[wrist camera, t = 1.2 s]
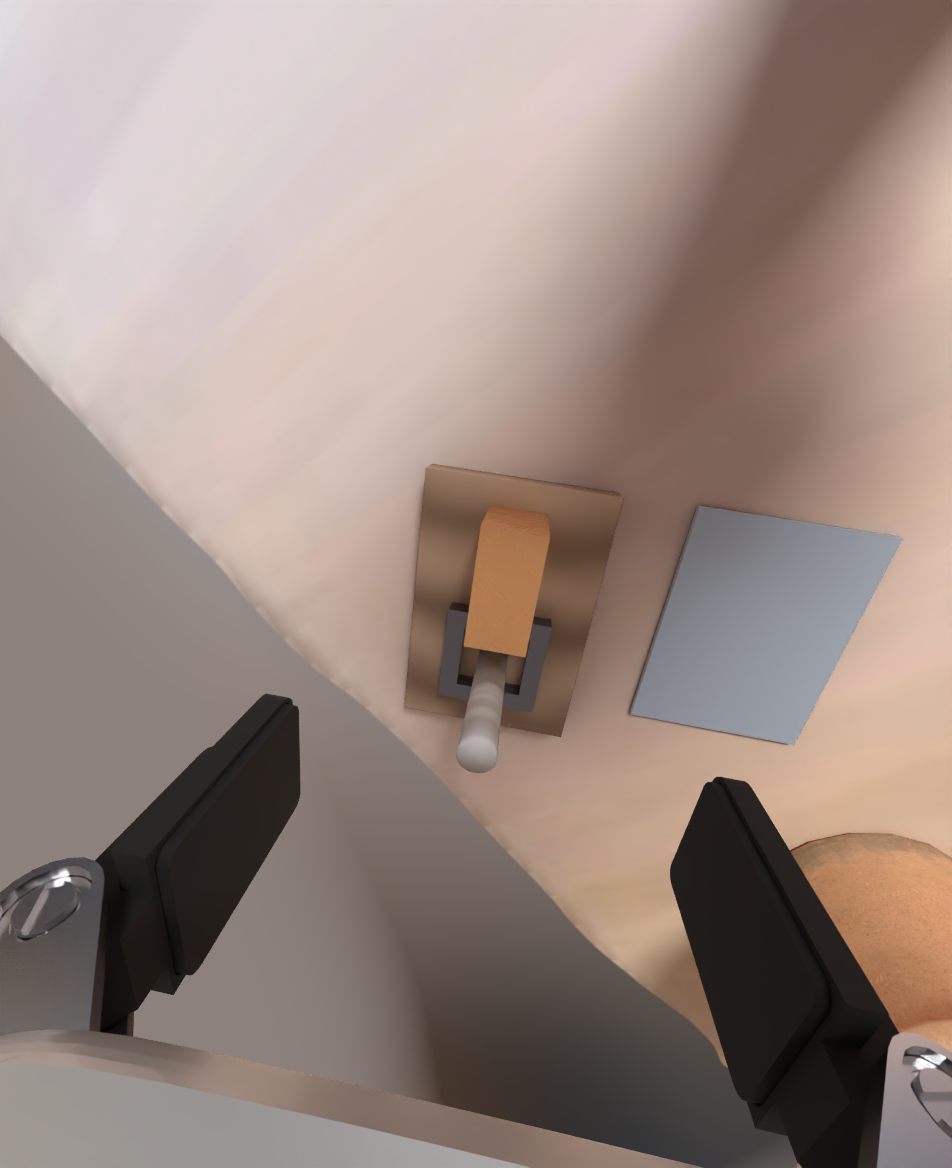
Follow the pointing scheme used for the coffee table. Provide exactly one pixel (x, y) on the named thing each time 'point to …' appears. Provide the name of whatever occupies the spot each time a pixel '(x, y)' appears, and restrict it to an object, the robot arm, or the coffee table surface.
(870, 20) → the coffee table surface
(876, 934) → the pottery
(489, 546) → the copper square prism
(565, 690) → the post stand
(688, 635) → the mat
